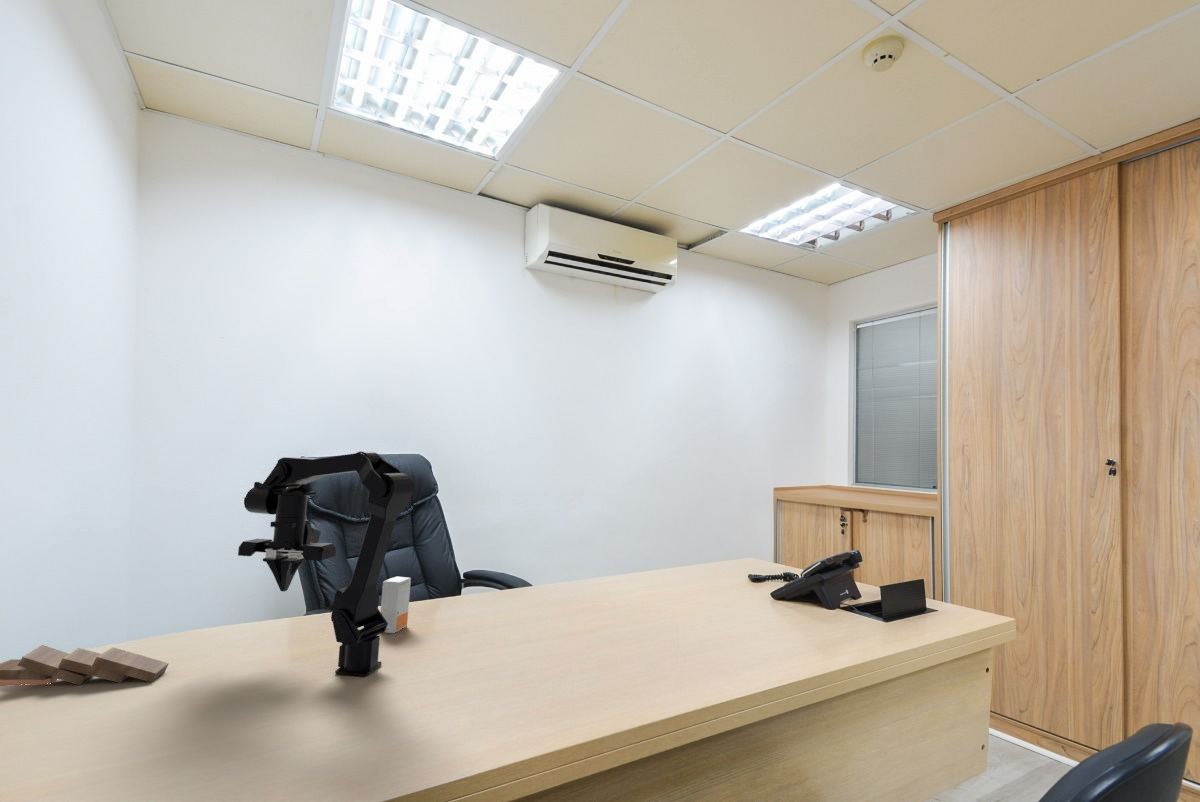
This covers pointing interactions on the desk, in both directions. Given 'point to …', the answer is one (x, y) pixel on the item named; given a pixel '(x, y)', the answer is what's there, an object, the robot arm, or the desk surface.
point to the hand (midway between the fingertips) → (284, 590)
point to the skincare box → (395, 603)
